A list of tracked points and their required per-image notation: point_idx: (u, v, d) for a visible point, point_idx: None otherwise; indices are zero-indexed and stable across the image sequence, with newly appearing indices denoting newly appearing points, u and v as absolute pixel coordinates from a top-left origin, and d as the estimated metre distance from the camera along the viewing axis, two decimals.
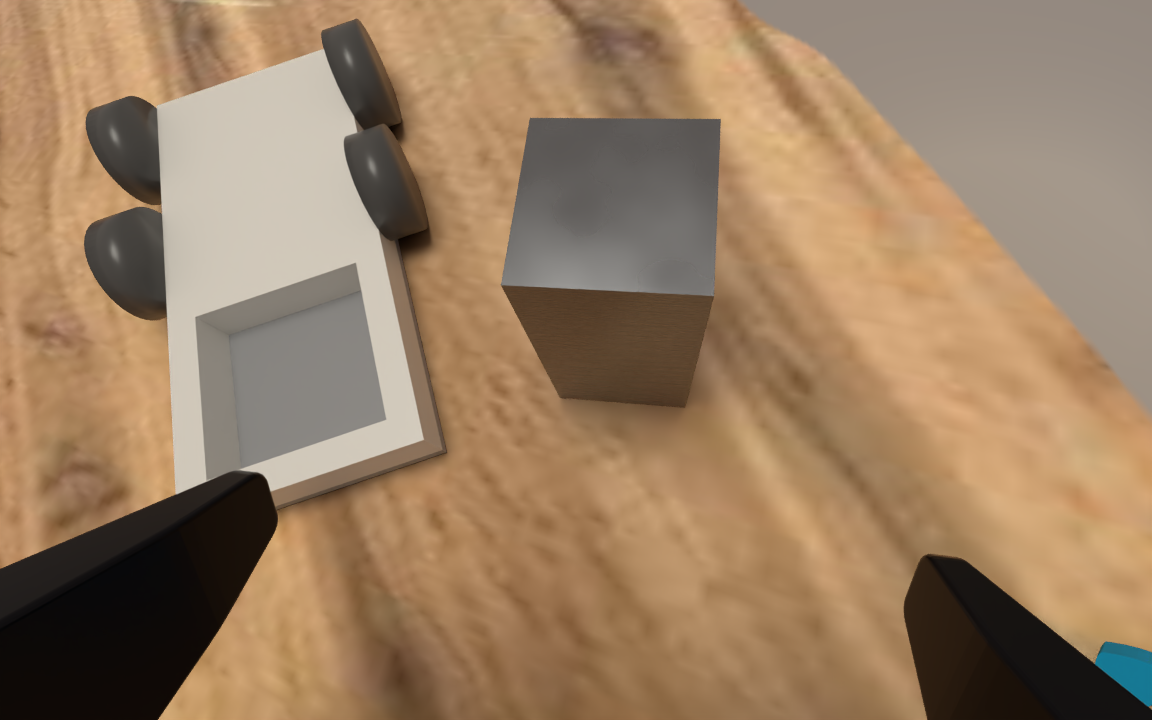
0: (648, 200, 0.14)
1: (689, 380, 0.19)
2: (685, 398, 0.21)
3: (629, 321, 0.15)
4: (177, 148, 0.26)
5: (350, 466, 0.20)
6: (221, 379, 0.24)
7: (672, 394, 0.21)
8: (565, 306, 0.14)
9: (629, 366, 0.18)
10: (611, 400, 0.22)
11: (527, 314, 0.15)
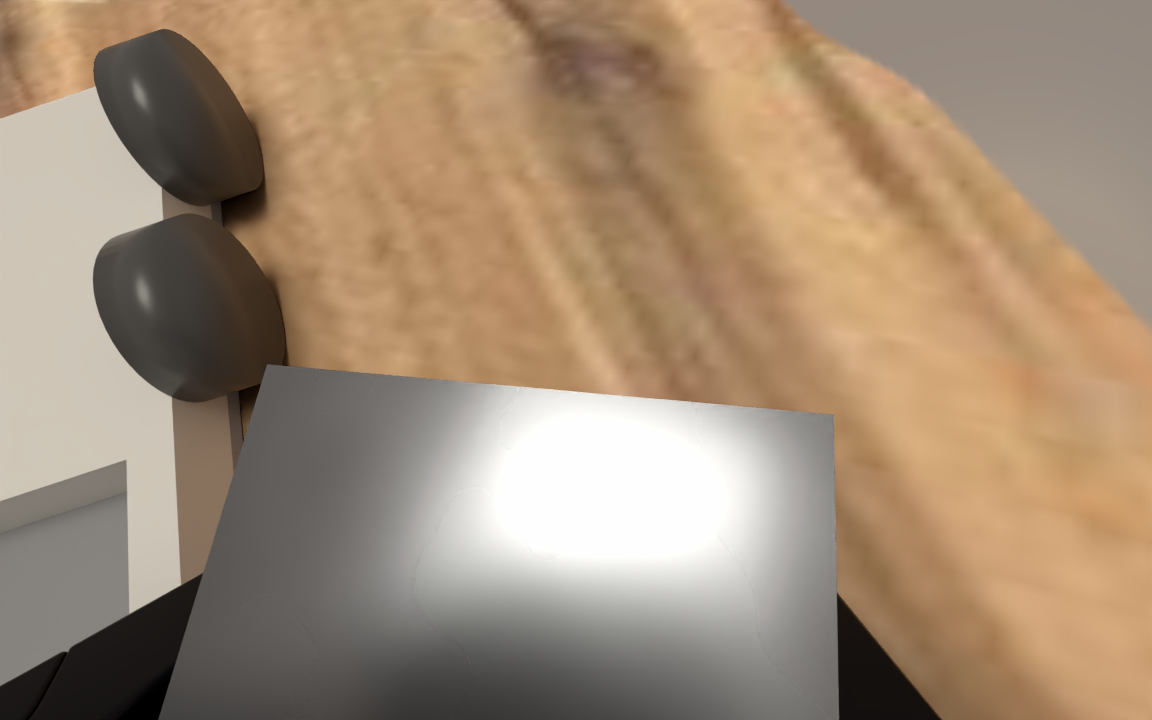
0: None
1: None
2: None
3: None
4: None
5: None
6: None
7: None
8: None
9: None
10: None
11: None
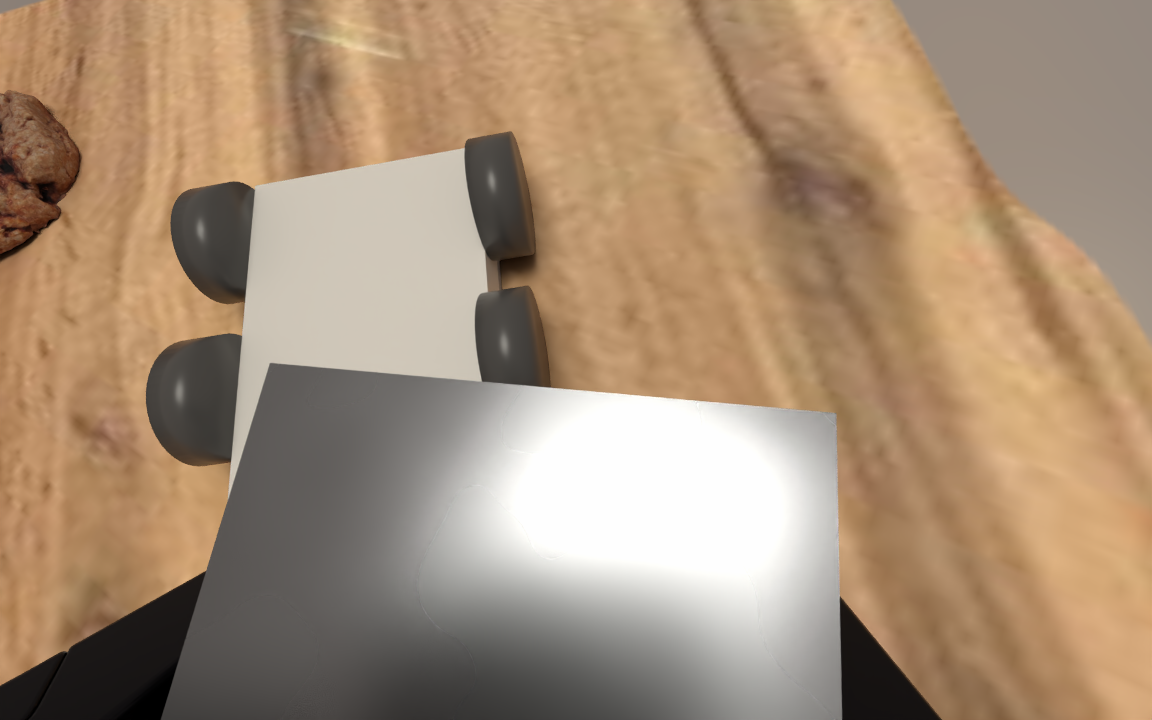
0: None
1: None
2: None
3: None
4: (271, 249, 0.22)
5: None
6: None
7: None
8: None
9: None
10: None
11: None
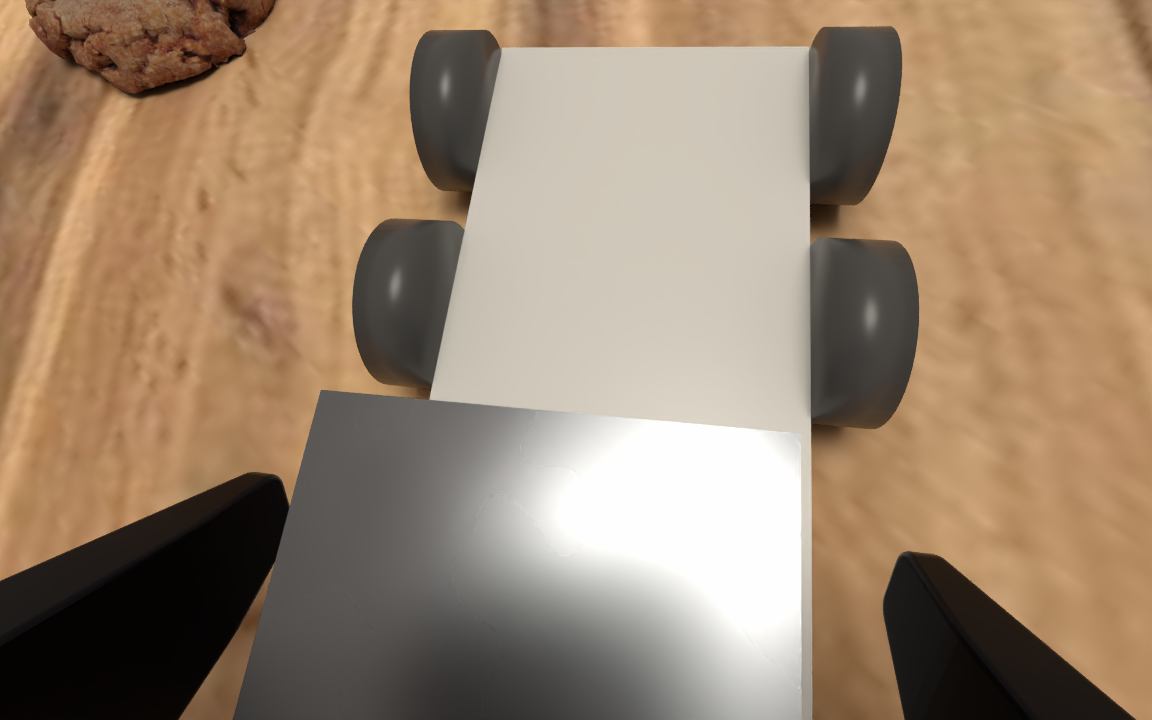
0: (601, 700, 0.05)
1: None
2: None
3: None
4: (514, 129, 0.17)
5: None
6: None
7: None
8: None
9: None
10: None
11: None
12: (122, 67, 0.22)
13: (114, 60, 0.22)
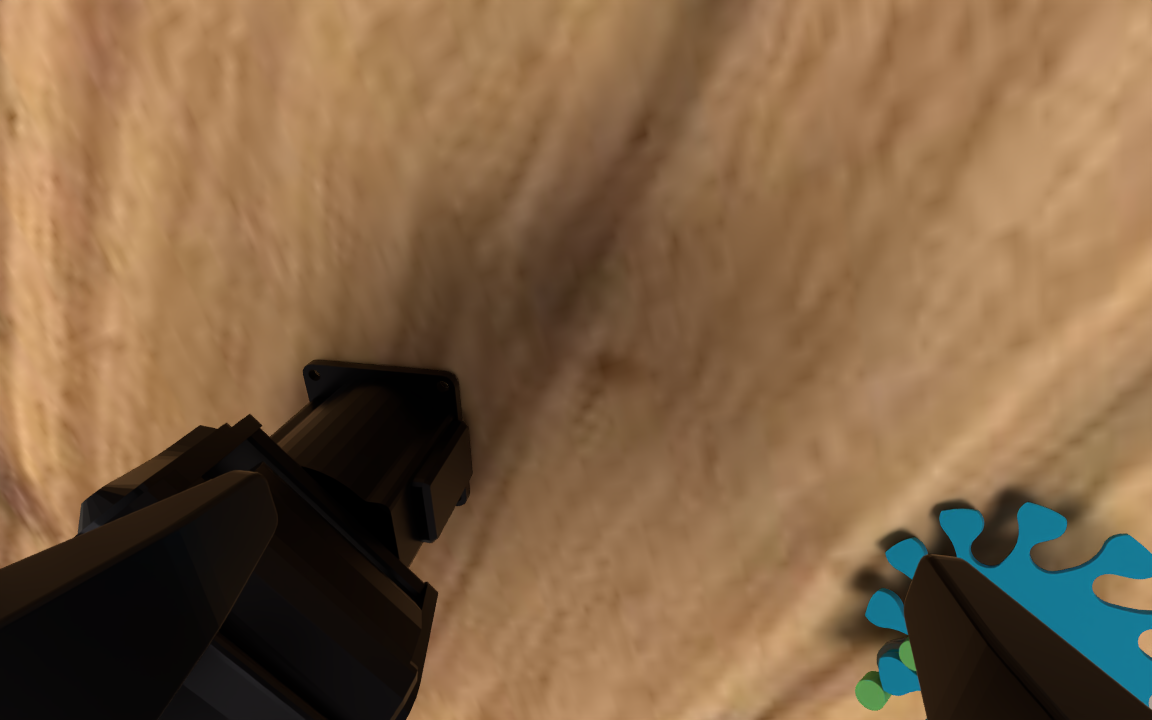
0: None
1: None
2: None
3: None
4: None
5: None
6: None
7: None
8: None
9: None
10: None
11: None
12: None
13: None
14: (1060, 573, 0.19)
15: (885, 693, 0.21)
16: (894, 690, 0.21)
